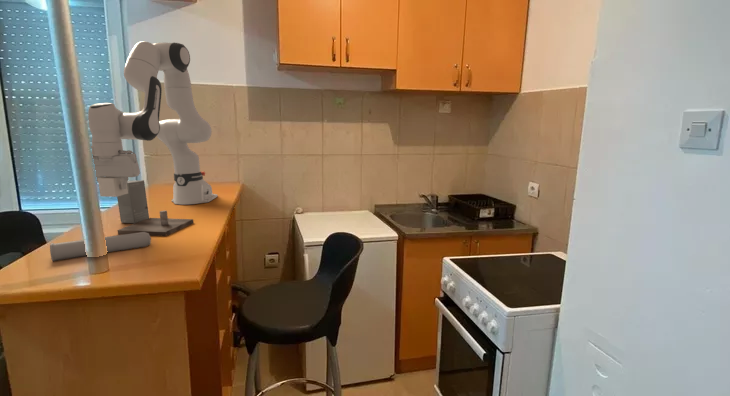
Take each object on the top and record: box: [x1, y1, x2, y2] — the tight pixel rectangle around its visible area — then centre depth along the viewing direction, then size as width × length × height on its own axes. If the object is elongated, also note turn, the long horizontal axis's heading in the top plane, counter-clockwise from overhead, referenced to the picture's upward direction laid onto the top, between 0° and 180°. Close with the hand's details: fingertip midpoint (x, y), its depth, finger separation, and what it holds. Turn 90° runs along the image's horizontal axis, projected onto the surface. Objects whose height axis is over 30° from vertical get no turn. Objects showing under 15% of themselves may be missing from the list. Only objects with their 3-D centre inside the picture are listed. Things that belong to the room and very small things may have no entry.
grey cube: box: [97, 177, 128, 198], centre depth 140 cm, size 6×6×6 cm
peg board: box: [117, 210, 194, 237], centre depth 143 cm, size 17×18×6 cm
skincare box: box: [116, 179, 150, 224], centre depth 153 cm, size 8×7×16 cm
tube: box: [49, 232, 152, 262], centre depth 118 cm, size 5×5×25 cm
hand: (113, 189), depth 140 cm, fingers closed on grey cube, 6 cm apart
